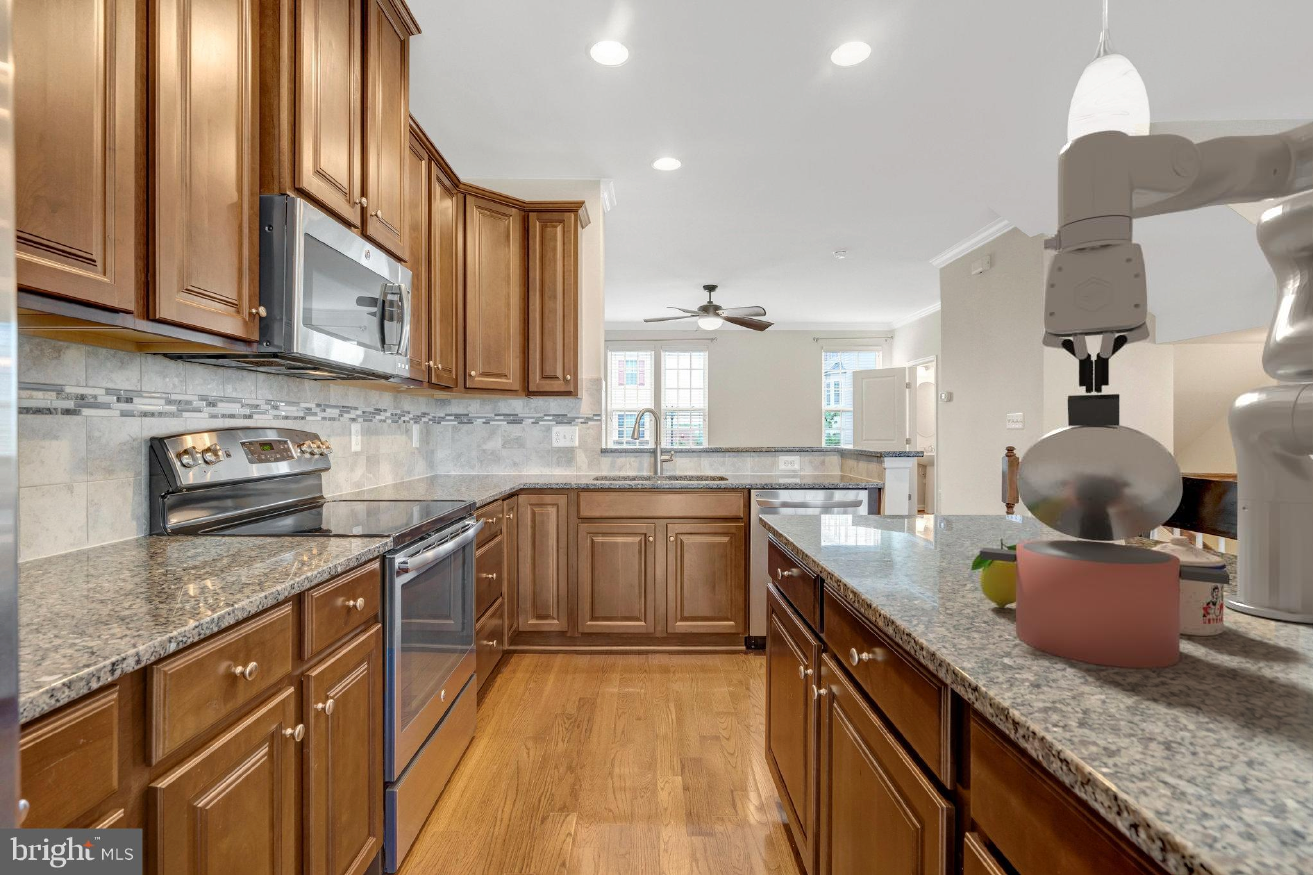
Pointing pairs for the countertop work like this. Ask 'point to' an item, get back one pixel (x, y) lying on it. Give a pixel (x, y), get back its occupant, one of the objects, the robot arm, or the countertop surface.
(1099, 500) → the cooker lid
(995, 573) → the lemon
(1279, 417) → the robot arm
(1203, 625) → the teacup with lid
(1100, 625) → the cooker pot
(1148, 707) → the countertop surface
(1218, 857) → the countertop surface
